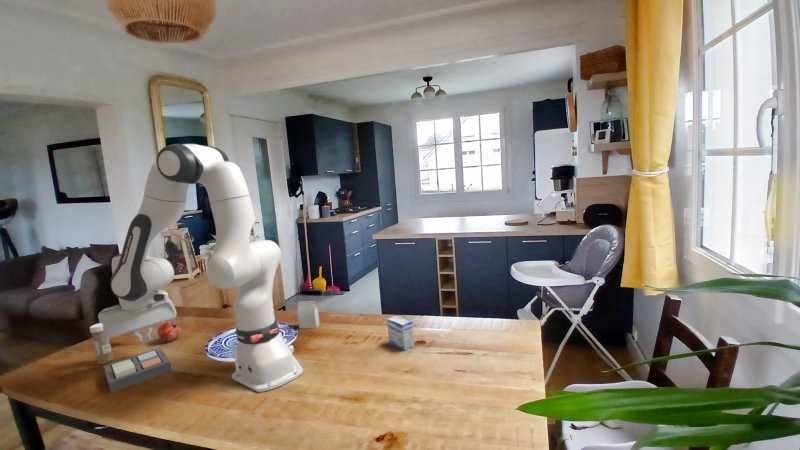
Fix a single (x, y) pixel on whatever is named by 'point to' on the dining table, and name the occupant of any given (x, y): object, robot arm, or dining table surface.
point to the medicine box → (400, 332)
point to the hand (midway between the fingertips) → (145, 340)
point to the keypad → (137, 371)
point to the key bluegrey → (147, 356)
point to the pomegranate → (168, 332)
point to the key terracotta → (150, 363)
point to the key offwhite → (124, 370)
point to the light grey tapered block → (308, 314)
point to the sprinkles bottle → (101, 344)
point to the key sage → (121, 363)
